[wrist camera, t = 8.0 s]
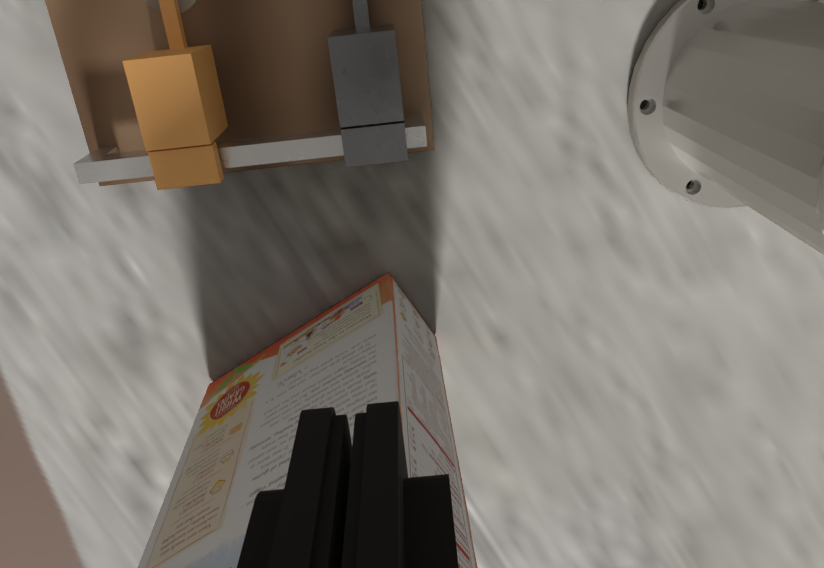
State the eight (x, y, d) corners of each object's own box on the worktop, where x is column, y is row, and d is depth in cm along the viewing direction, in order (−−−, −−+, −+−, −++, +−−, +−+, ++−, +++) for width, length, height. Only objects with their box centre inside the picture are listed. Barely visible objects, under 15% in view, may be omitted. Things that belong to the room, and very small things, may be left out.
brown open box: (410, -103, 34) (412, -107, 32) (432, 143, 39) (434, 150, 37) (40, -62, 34) (25, -64, 32) (109, 178, 39) (98, 186, 37)
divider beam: (405, -58, 33) (408, -62, 29) (424, 139, 37) (428, 158, 33) (50, -19, 33) (8, -18, 29) (105, 174, 37) (75, 196, 33)
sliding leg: (195, -36, 33) (171, -36, 29) (236, 162, 37) (219, 184, 33) (131, -28, 33) (99, -28, 29) (179, 168, 37) (156, 190, 33)
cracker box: (265, 444, 46) (184, 774, 27) (206, 380, 44) (74, 690, 25) (443, 340, 44) (492, 626, 25) (390, 267, 42) (399, 518, 23)
